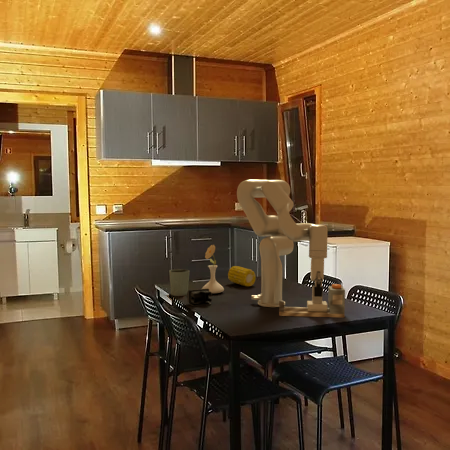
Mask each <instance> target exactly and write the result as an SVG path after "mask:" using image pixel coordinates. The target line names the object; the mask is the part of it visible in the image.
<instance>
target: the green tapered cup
mask: <svg viewBox="0 0 450 450" xmlns="http://www.w3.org/2000/svg"><path fill="white" fill-rule="evenodd" d="M168 272H169V284H170V295H171V296H174V297H182V296H183V297H184V296H187V292H188V290H189V280H190V272H191V271H190V270H189V269H183V268H181V269H180V268H176V269H174V268H173V269H169V271H168Z"/></svg>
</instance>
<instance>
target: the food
mask: <svg viewBox="0 0 450 450" xmlns="http://www.w3.org/2000/svg"><path fill="white" fill-rule="evenodd" d="M227 272H228V273H227V276H228V277H227V278H228V280H229V281H230V282H231V283H234V284H236V285H241V286H243V287H246V288H247V287H252V286H253V285H254V284H255V282H256V278H257V277H256V273H255V271H253V270H252V269H250V268H246V267H242V266H238V265H233V266H231V267H230V268H229V270H228V271H227Z"/></svg>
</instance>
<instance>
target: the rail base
mask: <svg viewBox="0 0 450 450" xmlns="http://www.w3.org/2000/svg"><path fill="white" fill-rule="evenodd" d="M327 294H328V296H327V301H328V302H327V311H308V307H307V306H306V307H305V306H303V307H302V306H301V307H300V306H285V305H284V302H285V301H284V300H282V301H279V307H278V316H280V317H282V316H283V317H284V316H286V317H308V318H309V317H313V318H316V317H317V318H345V313H346V312H345V311H346V307H345V306H346V305H345V303H346V302H345V301H346V289H345V288H344V287H343V285H342V287H341V289H334V288H332V285H328V293H327Z"/></svg>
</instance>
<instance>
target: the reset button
mask: <svg viewBox="0 0 450 450" xmlns="http://www.w3.org/2000/svg"><path fill="white" fill-rule="evenodd" d="M331 286H332V288H334V289H341V287H342V286H343V285H342V284H338V283H333V284H331Z"/></svg>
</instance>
